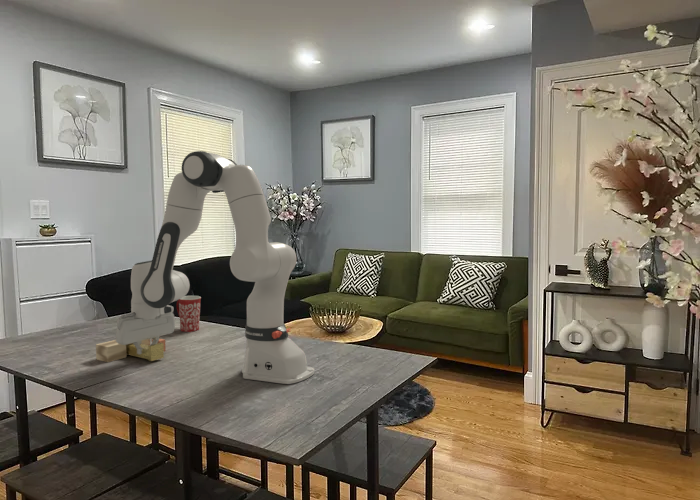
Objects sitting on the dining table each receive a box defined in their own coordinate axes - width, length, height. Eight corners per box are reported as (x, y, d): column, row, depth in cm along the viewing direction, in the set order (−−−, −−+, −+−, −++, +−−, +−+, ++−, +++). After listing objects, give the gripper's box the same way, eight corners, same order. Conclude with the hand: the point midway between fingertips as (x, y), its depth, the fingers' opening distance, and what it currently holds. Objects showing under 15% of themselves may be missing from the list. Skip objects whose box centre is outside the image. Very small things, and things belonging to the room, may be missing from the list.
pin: (163, 357, 160) (163, 343, 159) (151, 361, 156) (150, 346, 155) (133, 350, 167) (133, 336, 167) (121, 353, 163) (120, 339, 163)
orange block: (165, 351, 169) (165, 339, 169) (159, 352, 167) (159, 341, 167) (157, 349, 171) (157, 338, 171) (152, 351, 169) (151, 339, 169)
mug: (206, 329, 202) (205, 297, 201) (186, 333, 195) (185, 300, 194) (188, 325, 210) (188, 293, 209) (169, 328, 203) (168, 296, 202)
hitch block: (150, 350, 170) (150, 336, 170) (107, 362, 156) (107, 347, 156) (139, 348, 173) (138, 334, 173) (96, 359, 159) (95, 344, 159)
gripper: (123, 317, 149) (124, 361, 150) (177, 306, 166) (178, 346, 167) (110, 314, 152) (111, 358, 153) (164, 304, 169) (165, 343, 170)
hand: (146, 352), depth 160 cm, fingers closed on pin, 3 cm apart
